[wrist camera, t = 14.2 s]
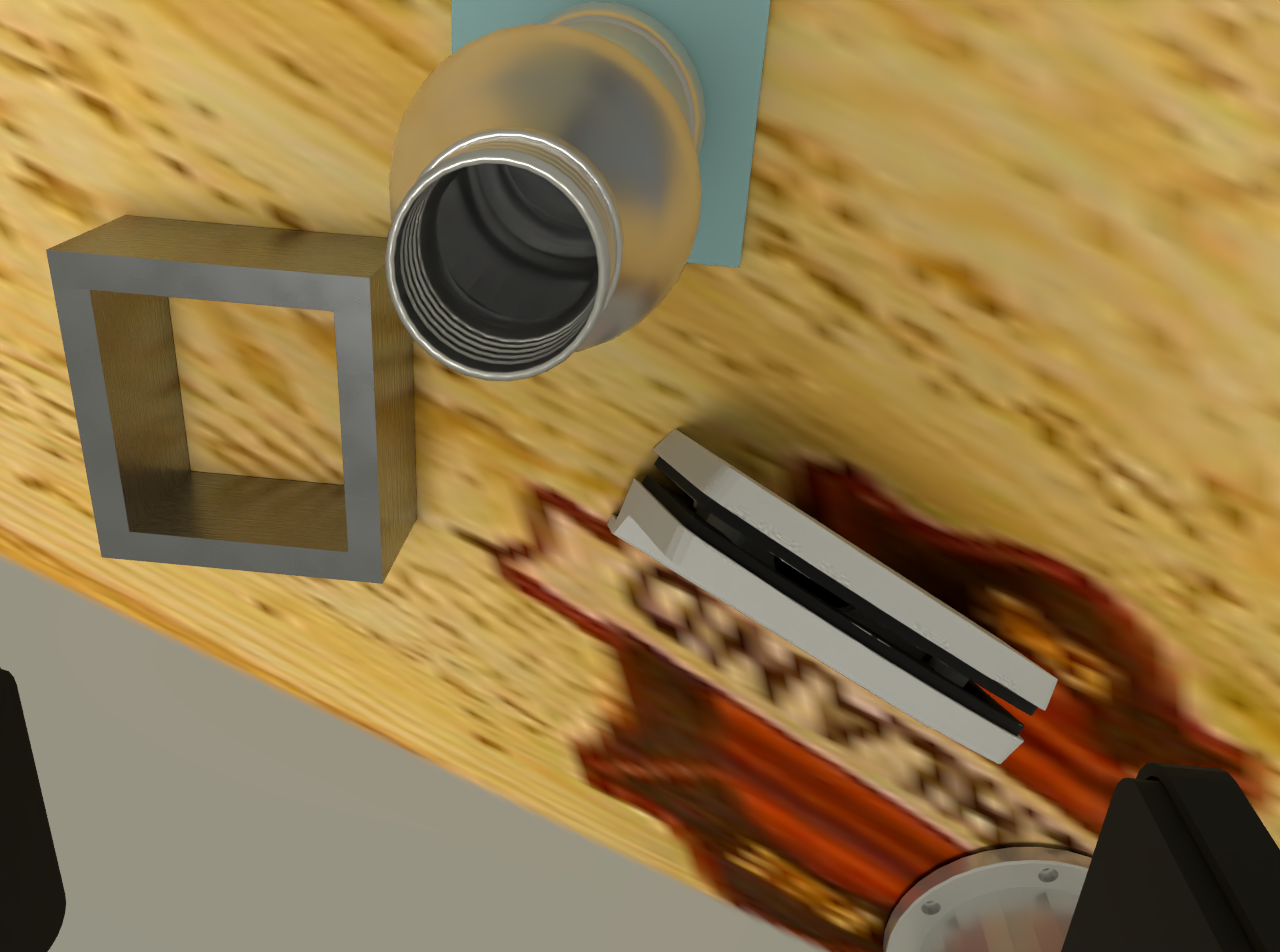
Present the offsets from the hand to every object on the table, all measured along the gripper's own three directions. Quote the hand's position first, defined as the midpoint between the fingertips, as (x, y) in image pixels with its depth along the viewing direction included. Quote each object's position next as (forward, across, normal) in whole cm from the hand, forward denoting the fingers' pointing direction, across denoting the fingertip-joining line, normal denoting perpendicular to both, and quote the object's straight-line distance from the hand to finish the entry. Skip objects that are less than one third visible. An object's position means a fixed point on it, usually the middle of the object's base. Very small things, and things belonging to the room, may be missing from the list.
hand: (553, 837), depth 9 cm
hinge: (+31, -7, +14) cm, 35 cm away
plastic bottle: (+30, +2, -3) cm, 30 cm away
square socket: (+30, +15, +8) cm, 35 cm away
